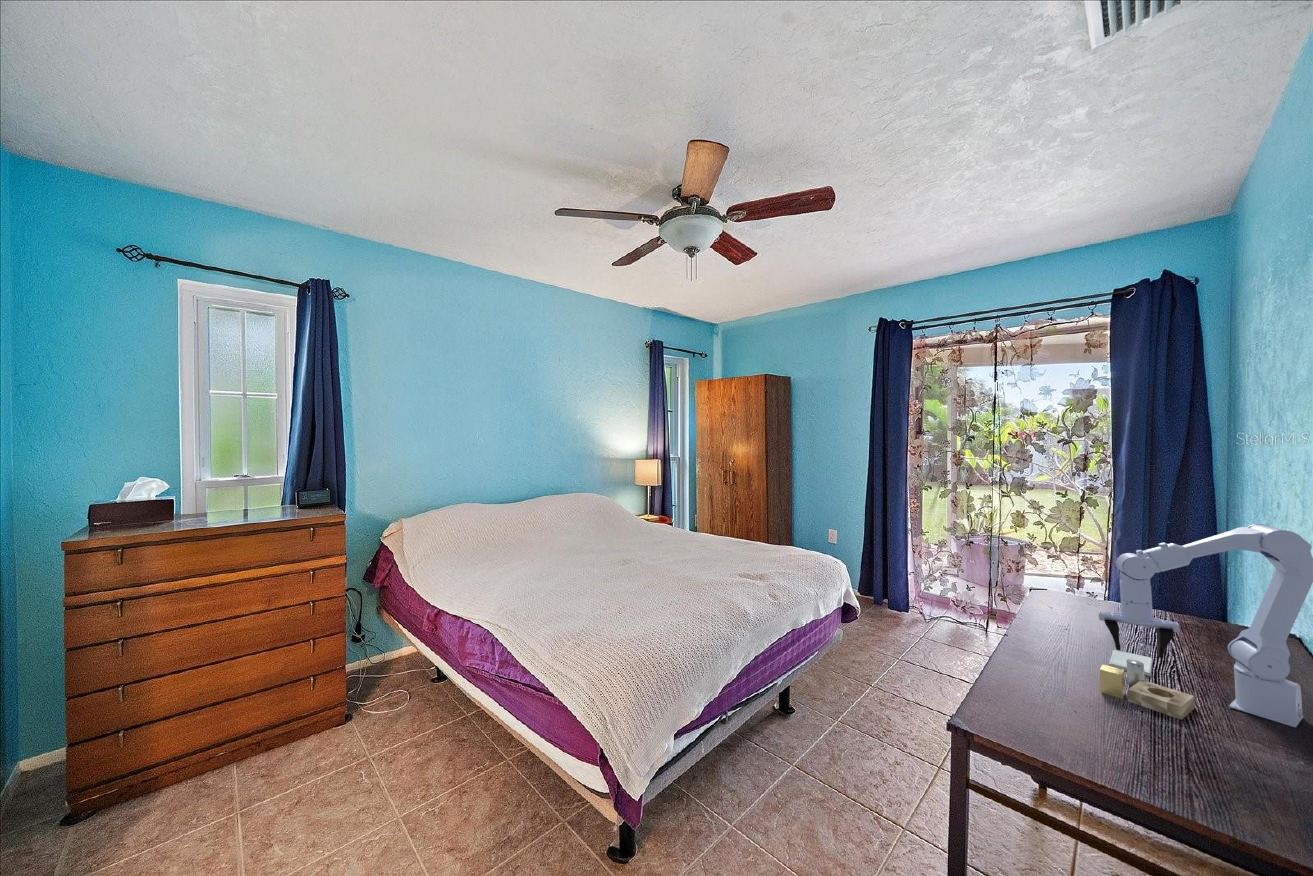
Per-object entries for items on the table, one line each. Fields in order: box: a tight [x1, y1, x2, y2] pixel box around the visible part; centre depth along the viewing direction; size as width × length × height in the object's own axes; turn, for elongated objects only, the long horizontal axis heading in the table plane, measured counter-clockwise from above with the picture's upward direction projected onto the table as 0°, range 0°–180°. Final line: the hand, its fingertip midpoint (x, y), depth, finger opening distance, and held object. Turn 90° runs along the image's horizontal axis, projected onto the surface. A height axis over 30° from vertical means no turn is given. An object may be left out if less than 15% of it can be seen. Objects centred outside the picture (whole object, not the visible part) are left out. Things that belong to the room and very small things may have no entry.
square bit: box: [1099, 664, 1126, 700], centre depth 119 cm, size 4×4×6 cm
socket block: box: [1127, 680, 1195, 721], centre depth 113 cm, size 9×9×3 cm
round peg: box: [1126, 659, 1146, 687], centre depth 122 cm, size 3×3×6 cm
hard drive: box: [1108, 649, 1153, 677], centre depth 133 cm, size 2×8×12 cm
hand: (1138, 653), depth 120 cm, fingers open, 7 cm apart
